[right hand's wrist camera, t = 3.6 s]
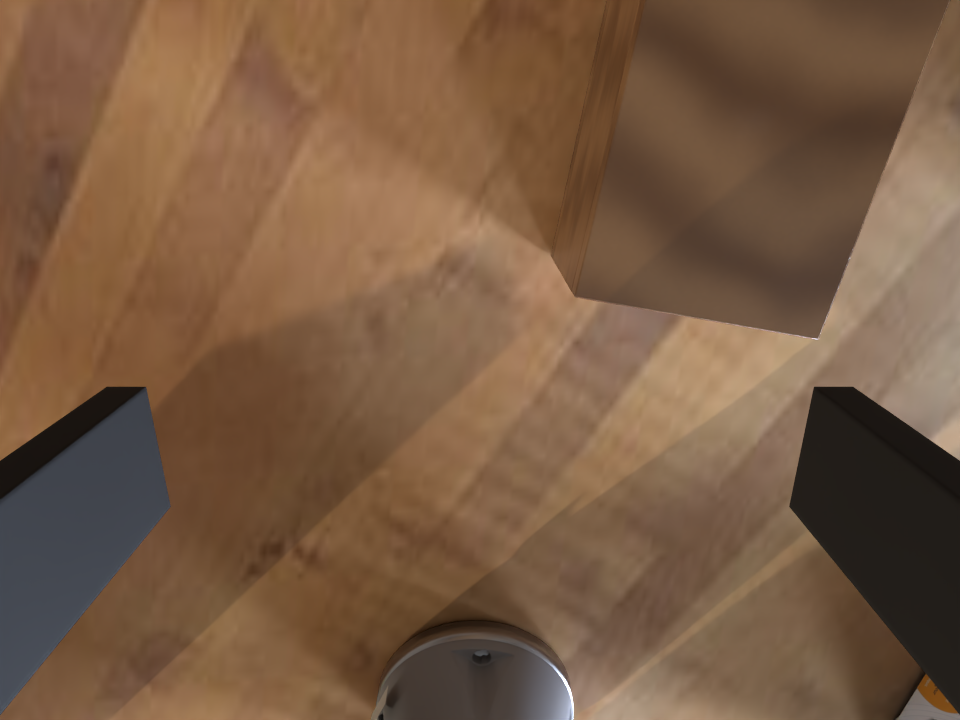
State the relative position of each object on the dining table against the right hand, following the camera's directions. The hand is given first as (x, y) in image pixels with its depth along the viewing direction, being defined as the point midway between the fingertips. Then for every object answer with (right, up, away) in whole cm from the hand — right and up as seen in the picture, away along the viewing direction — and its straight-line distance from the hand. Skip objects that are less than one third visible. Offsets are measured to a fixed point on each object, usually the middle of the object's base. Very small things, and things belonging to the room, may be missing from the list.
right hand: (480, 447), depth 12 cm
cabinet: (+12, +16, +22) cm, 30 cm away
